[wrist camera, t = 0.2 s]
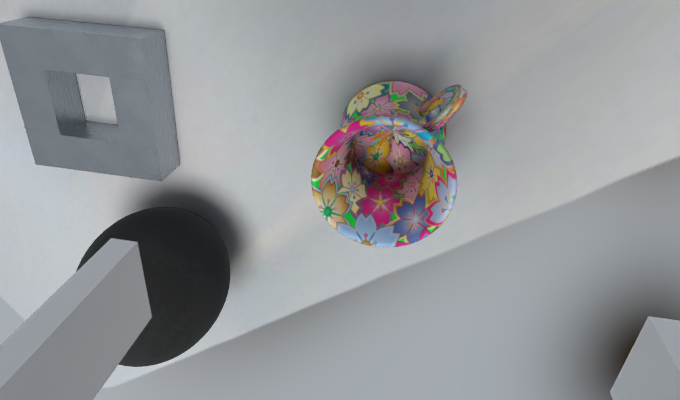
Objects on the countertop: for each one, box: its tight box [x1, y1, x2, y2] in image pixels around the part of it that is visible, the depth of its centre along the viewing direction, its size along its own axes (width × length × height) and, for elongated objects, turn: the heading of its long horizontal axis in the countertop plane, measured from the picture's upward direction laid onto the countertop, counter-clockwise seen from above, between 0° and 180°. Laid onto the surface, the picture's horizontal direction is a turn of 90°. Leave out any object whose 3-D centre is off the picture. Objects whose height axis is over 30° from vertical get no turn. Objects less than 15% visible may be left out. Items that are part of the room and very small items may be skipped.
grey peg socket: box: [0, 17, 180, 181], centre depth 41 cm, size 12×12×4 cm
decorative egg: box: [76, 207, 230, 367], centre depth 42 cm, size 12×12×15 cm
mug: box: [311, 81, 467, 247], centre depth 34 cm, size 12×9×11 cm
